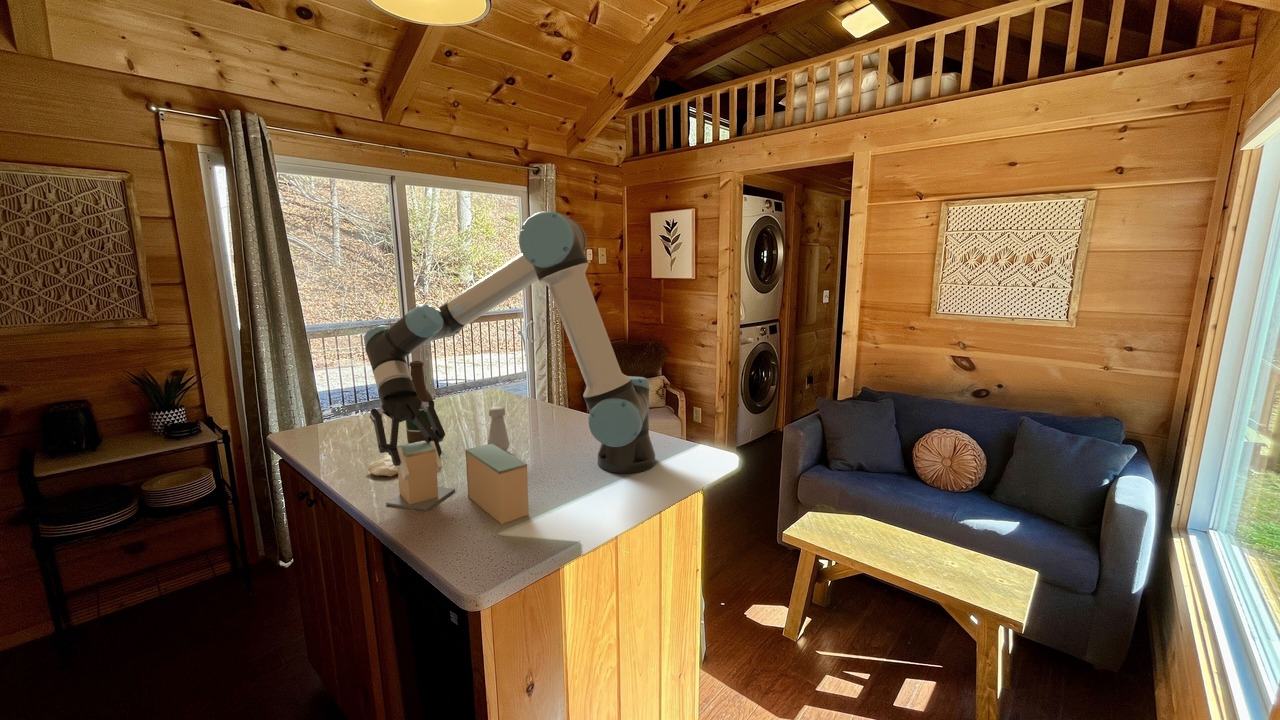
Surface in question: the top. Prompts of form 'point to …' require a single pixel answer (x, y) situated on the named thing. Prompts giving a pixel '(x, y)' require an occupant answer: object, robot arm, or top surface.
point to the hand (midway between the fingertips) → (423, 473)
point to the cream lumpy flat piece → (383, 467)
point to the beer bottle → (423, 395)
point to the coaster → (422, 505)
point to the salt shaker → (498, 428)
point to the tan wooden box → (497, 482)
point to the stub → (419, 472)
